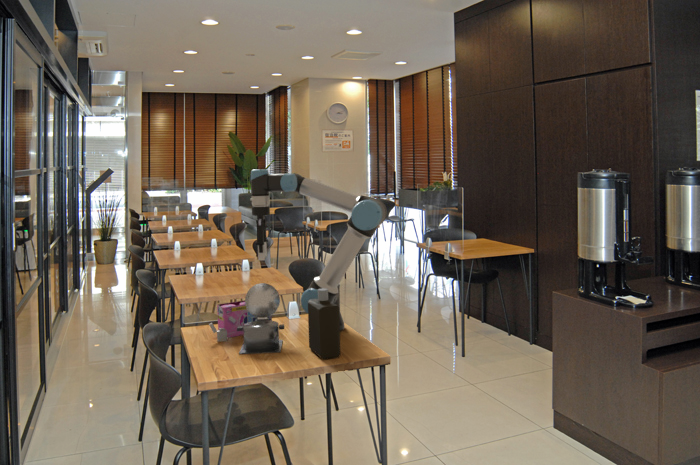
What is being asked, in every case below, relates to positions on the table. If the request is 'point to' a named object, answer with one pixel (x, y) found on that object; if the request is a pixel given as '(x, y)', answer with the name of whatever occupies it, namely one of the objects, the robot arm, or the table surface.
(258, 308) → the lid
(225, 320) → the gum box
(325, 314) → the bottle
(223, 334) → the lighter
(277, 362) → the table surface
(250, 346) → the pot
